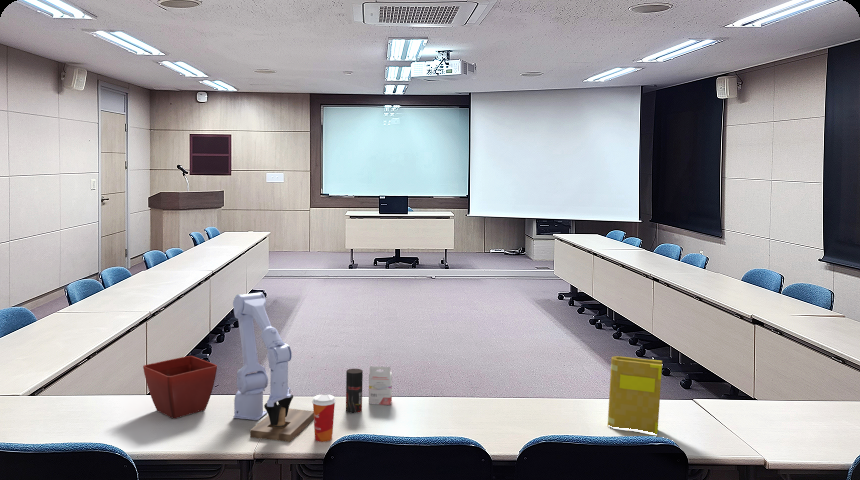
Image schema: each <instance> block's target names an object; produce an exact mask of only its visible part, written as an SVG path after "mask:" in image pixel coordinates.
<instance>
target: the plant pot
mask: <svg viewBox="0 0 860 480" xmlns="http://www.w3.org/2000/svg"><path fill="white" fill-rule="evenodd" d="M142 368H143V373H144V378H145V381H146V386H147V389H148V391H149V395H150V398H151V400H152V402H153V404H154V406H155V407H154V408H155V409H156V411H157V412H159V413H160V414H163V415H165V416H167V417H169V418H171V419H177V418H181V417H184V416H188V415H192V414H197V413H199V412H200V413H201V412H203V411H206V409H207V407H208V404H209V401H210V398H211V396H212V393H213V388H214V385H215V382H216V376H217V370H218V369H217V368H218V365H217V364H215V363H212V362H209V361H208V360H205V359H201V358H199V357H196V356H194V355H188V356H180V357H178V358H177V357H176V358H171V359H167V360H162V361H158V362H153V363H148V364H144V365H143V367H142Z"/></svg>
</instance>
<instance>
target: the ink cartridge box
mask: <svg viewBox="0 0 860 480" xmlns="http://www.w3.org/2000/svg"><path fill="white" fill-rule="evenodd" d="M391 369H392V368H391V366H371V365H370V366H369V374H368V404H369V405H382V406H383V405H384V406H385V405H388V406H389V405H392V404H391V403H392V399H393V397H392V396H393V395H392V394H393V372H392V371H391ZM377 370H378V371H377ZM379 370H381V371H379Z"/></svg>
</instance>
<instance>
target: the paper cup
mask: <svg viewBox="0 0 860 480" xmlns="http://www.w3.org/2000/svg"><path fill="white" fill-rule="evenodd" d="M312 398H313V399H312V401H311V402H312V405H313V406H312V407H313V409H312V411H314V419H313V428H314V440H315V442H319V443H320V442H321V443H327V442H330V441H332V440H333V432H334V419H335V417H334V416H335V403H336V402H337V401H336V399H335V396H334V395H332V394H317V395H315V396H314V397H312Z"/></svg>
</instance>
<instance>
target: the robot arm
mask: <svg viewBox="0 0 860 480" xmlns="http://www.w3.org/2000/svg"><path fill="white" fill-rule="evenodd" d="M232 305H233V306H232V308H233V314H234V318H235V319H237V321H238V328H239V335H240V336H239V337H240V346H241V354H242V362H243V366H241V368H240V369H238V371H237V372H236V387H237V392H236V393H235V396H234V399H233V402H234V406H233V407H234V411H233V412H234V414H233V416H232V417H233V419H241V420H251V421H259V420H261V419H262V418H263V417H264V416H265V415H267V416H268V415H269V419H270V423H271V425H277V424H278V420H279V413H280V410H281V407H284V408H285V417H287V414H288V410H289V409H290V405H291V403H292V400H293V398H294V395H293V394H291V390H292V389H291V387H289V386H288V385H289V362H291V360H292V357H293V356H292V355H293V354H292V353H293V352H292V350H291V347H290V346H289V344H288V343H286V342H284V341H283V339H282V337H281V335H280V333H279V331H278V329H277V328H276V327H274V326H272V323H271V321H270V319H269V316H268V314H267V313H268V312H267V311H266V307H267V300H266V296H265V294H264V293H263V292H261V291H258V292H253V293H251V292H250V293H245V294H243V293H242V294H240V293H239V294H236V295H235V297H234V299H233V301H232ZM254 321H255V322H256V324H257V325H258V327H259V329H260V331H261V333H260V338H261V340H262V343H264V346H265V348H266V350H267V353H266V357H267V360H268V368H269V369H270V387H269V388H270V389H269V391H270V394H269V397H268V399H267V401H266V403H265V404H264V392H265V390H266V388H267V387H268V386H269V385H268V384H269V376H268V373H267V370H266V368H265V366H263V365H262V364H260V363H259V358H258V357H259V356H258V348H257V342H256V334H255V326H254ZM264 409H265V410H264Z"/></svg>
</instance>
